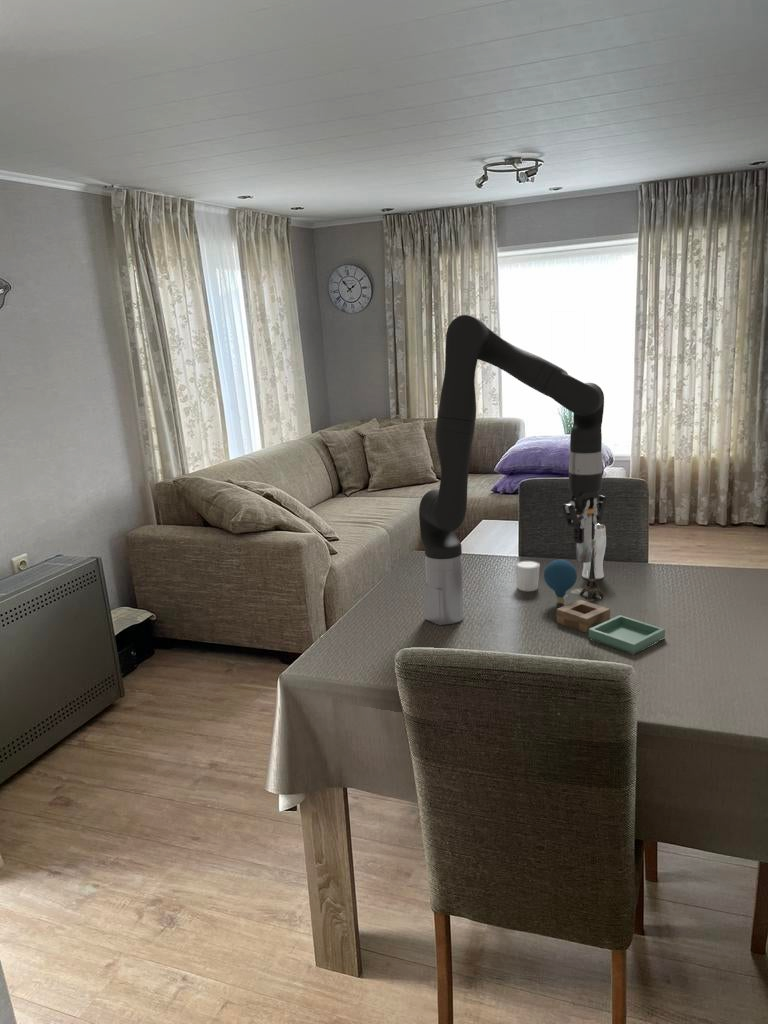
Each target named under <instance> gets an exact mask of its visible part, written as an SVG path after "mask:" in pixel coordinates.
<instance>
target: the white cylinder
mask: <svg viewBox="0 0 768 1024" xmlns="http://www.w3.org/2000/svg"><path fill="white" fill-rule="evenodd" d="M540 565H541V563H540V562H537V561H534V560H521V561H518V562H516V563H515V564H514V566H515V575H516V585H517V586H516V587H517V589H518V590H519V591H522V592H534V591H537V590H538V588H539V577H540V567H541V566H540Z"/></svg>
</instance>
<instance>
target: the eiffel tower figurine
mask: <svg viewBox="0 0 768 1024" xmlns="http://www.w3.org/2000/svg"><path fill="white" fill-rule="evenodd" d="M593 557H594V555H593V551H592V555H591V567H590V575H589V578H588V579H587V582H586V584H585V585H584V587H581V588H575V589H571V590H570V593H571V594H575V595H576V594H577V595H578V597H580V598H582V599H584V601H586V602H592V601H599V599H600V597H601V599H600V600H604V599H603V598H605V599H606V597H605V595H604V594H603V592H601V591H603V590H601V589H600V586H598V583H597V579H595V574H594V561H593ZM566 597H569V594H565V596H564V600H565V599H566Z"/></svg>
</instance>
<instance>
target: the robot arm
mask: <svg viewBox="0 0 768 1024" xmlns="http://www.w3.org/2000/svg"><path fill="white" fill-rule="evenodd" d="M444 357H445V362H444V375H443V381H442V387H441V392H440V396H439V397H440V398H439V399H440V400H439V405H438V411H437V417H436V423H435V424H436V425H435V435H434V437H435V446H436V447H435V448H436V452H437V456H438V460H439V465H440V483H439V489H438V488H437V489H435V488H434V489H431V490H429V491H427V492H426V493H424V495H423V496H422V498H421V500H420V502H419V507H418V508H419V509H418V517H419V518H418V519H419V529H420V539H421V543H422V546H423V549H424V558H425V559H424V561H425V583H424V584H423V585H422V587H423V589H422V592H423V608H424V611H423V612H424V619H425V620H426V621H429V622H431V623H433V624H436V625H438V626H442V625H443V626H444V625H451V624H457V623H460V622H461V621H463V620H464V617H465V616H464V615H465V612H464V590H463V589H464V585H463V583H464V582H463V578H464V577H463V556H462V555H463V552H462V551H463V550H462V543H461V540H459V538H458V537H457V535H456V533H455V531H457V530H458V529H459V528H460V527H461V526H462V524H463V523H464V520H465V518H466V516H467V509H468V508H467V506H468V485H469V484H468V480H469V470H470V464H471V463H470V461H471V454H472V453H471V452H472V445H473V439H474V434H475V426H476V420H477V401H476V400H477V399H476V386H475V384H476V383H475V379H476V378H475V377H476V370H477V364H478V360H479V361H481V362H484V363H487V364H490V365H491V366H494V367H496V368H497V369H500V370H502V371H504V372H505V373H507V374H508V375H510V376H511V377H513V378H515V379H517V380H518V381H520V382H521V383H522V384H525V386H528V387H529V388H531V389H533V390H535V391H537V392H539V393H541V394H542V395H544V396H547V397H549V398H551V399H552V400H554V401H555V402H556V403H558V404H559V405H561V406H562V408H565V409H566V410H568V411H569V412H571V413H573V418H572V419H573V422H572V423H573V424H572V428H571V430H570V438H569V439H570V441H569V442H570V443H569V458H568V489H569V490H570V492H571V498H570V501H569V502H568V503H563V505H562V510H563V513H564V517H565V520H566V524H567V526H568V527H573V541H574V543H576V544H577V543H580V544H581V543H583V542H584V528H583V527H584V521H585V519H586V518H587V510H588V509H590V508H594V513H593V514H592V540H593V539H594V535H595V524H598V521H601V520H602V517H603V514H604V510H605V506H606V503H607V496H605V495H601V494H600V493H599V492H600V491H601V490H602V488H603V454H602V453H603V451H602V448H603V447H602V446H603V445H602V444H603V442H602V440H603V438H602V436H603V434H602V424H603V419H604V417H603V416H604V408H605V395H604V391H603V389H602V388H601V387H600V386H599V385H598V384H596V383H594V382H583V381H580V380H579V379H577V378H575V377H574V376H572V375H570V374H569V373H568V372H567V370H565V369H563V368H562V367H560V366H558V365H556V364H555V363H552V362H550V361H549V360H546V359H545V358H543V357H541V356H539V355H536V354H535V353H532V352H529V351H527V350H524V349H522V348H520V347H518V346H516V345H514V344H512V343H510V342H508V341H507V340H505V339H503V338H502V337H500V336H499V335H498V334H496V333H495V332H494V331H493V330H491V329H490V328H489V327H487V325H486V324H485V323H484V322H483V321H482V320H481V319H479V318H477V317H475V316H473V315H471V314H461V315H458V316H456V317H455V318H454V319H453V320H452V321H451V322H450V323H449V325H448V327H447V329H446V334H445V356H444ZM576 512H580V513H582V512H583V513H582V515H579V514H577V513H576ZM578 518H580V523H579V522H578Z"/></svg>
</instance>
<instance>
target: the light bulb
mask: <svg viewBox="0 0 768 1024" xmlns="http://www.w3.org/2000/svg"><path fill="white" fill-rule="evenodd" d="M543 572H544V573H543V578H544V581H545V584H546V585H547V586H548V587H549V588H550V589H552V591H554V594H555V596H556V602H557V603H558V604H563V603H564V602H565V599H564V596H565V595H566V593H567V592H568V591H569V590H570V589H571V588H573V587H574V585H575V583H576V582H577V578H578V573H577V569H576V568H575V565H574V564H573V563H571V562H570V561H568V560H566V559H564V558H563V559H562V558H561V559H560V558H559V559H554V560H552V561H550V562H549V563H548V564H547V565H546V567H545V569H544V571H543Z"/></svg>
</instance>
